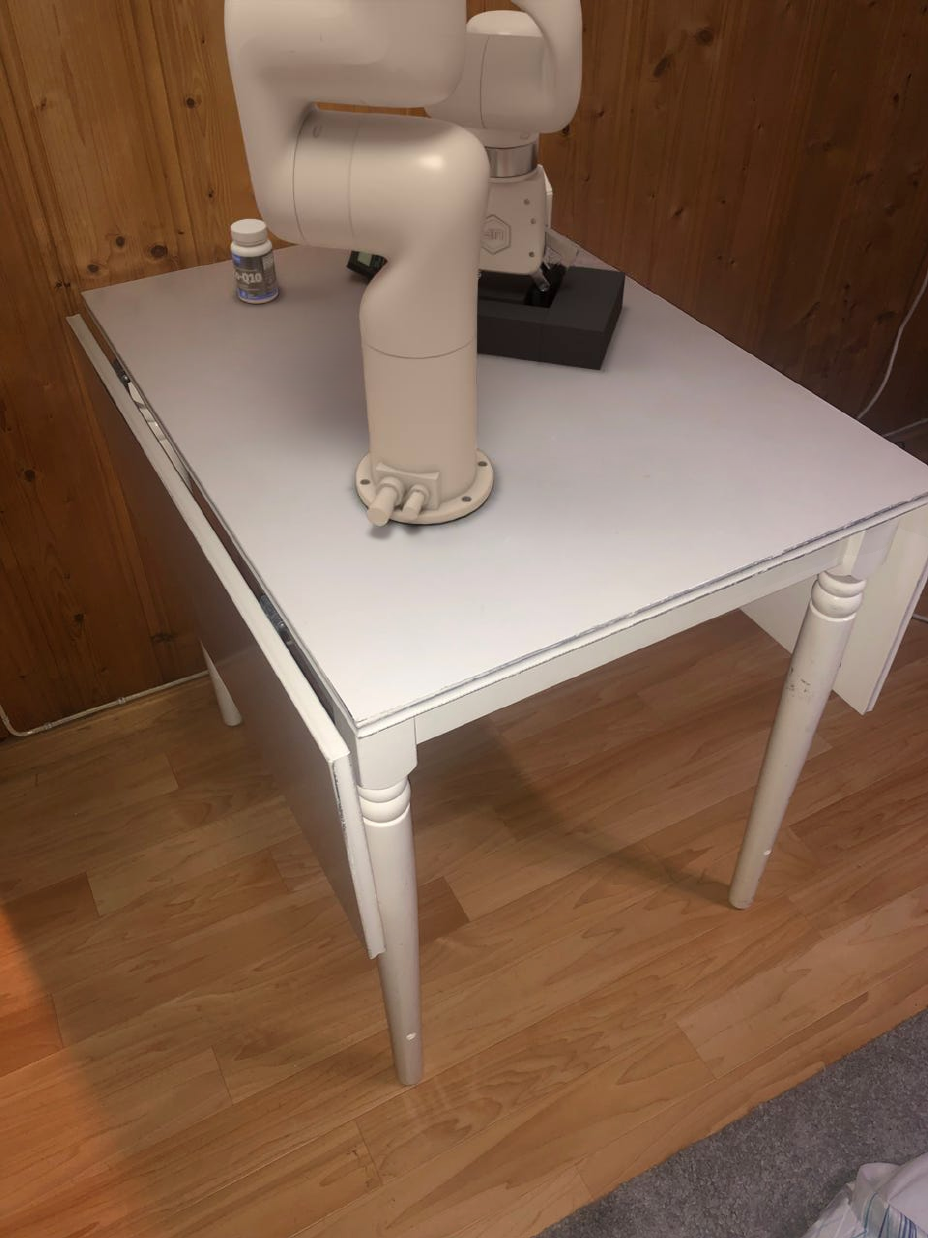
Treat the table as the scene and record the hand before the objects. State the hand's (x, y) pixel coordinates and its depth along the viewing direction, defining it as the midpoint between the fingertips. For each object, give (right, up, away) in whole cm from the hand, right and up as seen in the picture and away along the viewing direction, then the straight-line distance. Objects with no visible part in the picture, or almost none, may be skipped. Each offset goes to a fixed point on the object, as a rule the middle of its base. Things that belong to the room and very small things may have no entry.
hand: (497, 313), depth 114 cm
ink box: (+3, +7, +10) cm, 12 cm away
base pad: (+5, -2, 0) cm, 5 cm away
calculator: (-12, +9, +11) cm, 18 cm away
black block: (+1, 0, +1) cm, 2 cm away
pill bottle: (-28, +4, +6) cm, 29 cm away
